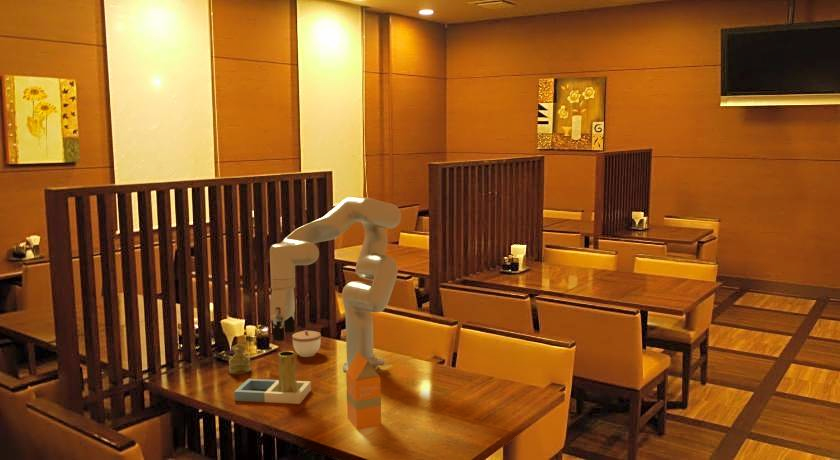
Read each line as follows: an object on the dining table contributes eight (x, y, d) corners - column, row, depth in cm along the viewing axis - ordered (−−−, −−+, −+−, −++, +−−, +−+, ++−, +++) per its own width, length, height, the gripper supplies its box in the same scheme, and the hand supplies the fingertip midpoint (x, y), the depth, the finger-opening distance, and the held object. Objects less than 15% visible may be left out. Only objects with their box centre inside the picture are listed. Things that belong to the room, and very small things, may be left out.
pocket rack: (310, 390, 231) (310, 381, 231) (299, 403, 220) (299, 394, 220) (248, 387, 235) (248, 378, 234) (234, 400, 223) (234, 391, 223)
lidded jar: (308, 360, 260) (307, 336, 259) (287, 355, 266) (286, 331, 265) (327, 352, 269) (326, 329, 268) (306, 348, 275) (305, 325, 274)
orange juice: (356, 429, 201) (354, 362, 198) (347, 418, 209) (345, 353, 206) (382, 424, 204) (380, 358, 201) (371, 413, 212) (370, 349, 209)
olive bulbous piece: (255, 370, 251) (253, 343, 250) (239, 376, 245) (237, 348, 243) (240, 366, 255) (239, 340, 254) (224, 372, 249) (223, 345, 247)
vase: (293, 400, 223) (291, 357, 221) (275, 399, 224) (273, 356, 222) (300, 393, 229) (298, 350, 227) (283, 391, 230) (281, 349, 228)
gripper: (281, 277, 230) (282, 328, 232) (261, 288, 213) (263, 343, 215) (303, 277, 229) (304, 329, 231) (284, 289, 212) (286, 344, 214)
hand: (284, 335), depth 223 cm, fingers open, 9 cm apart
